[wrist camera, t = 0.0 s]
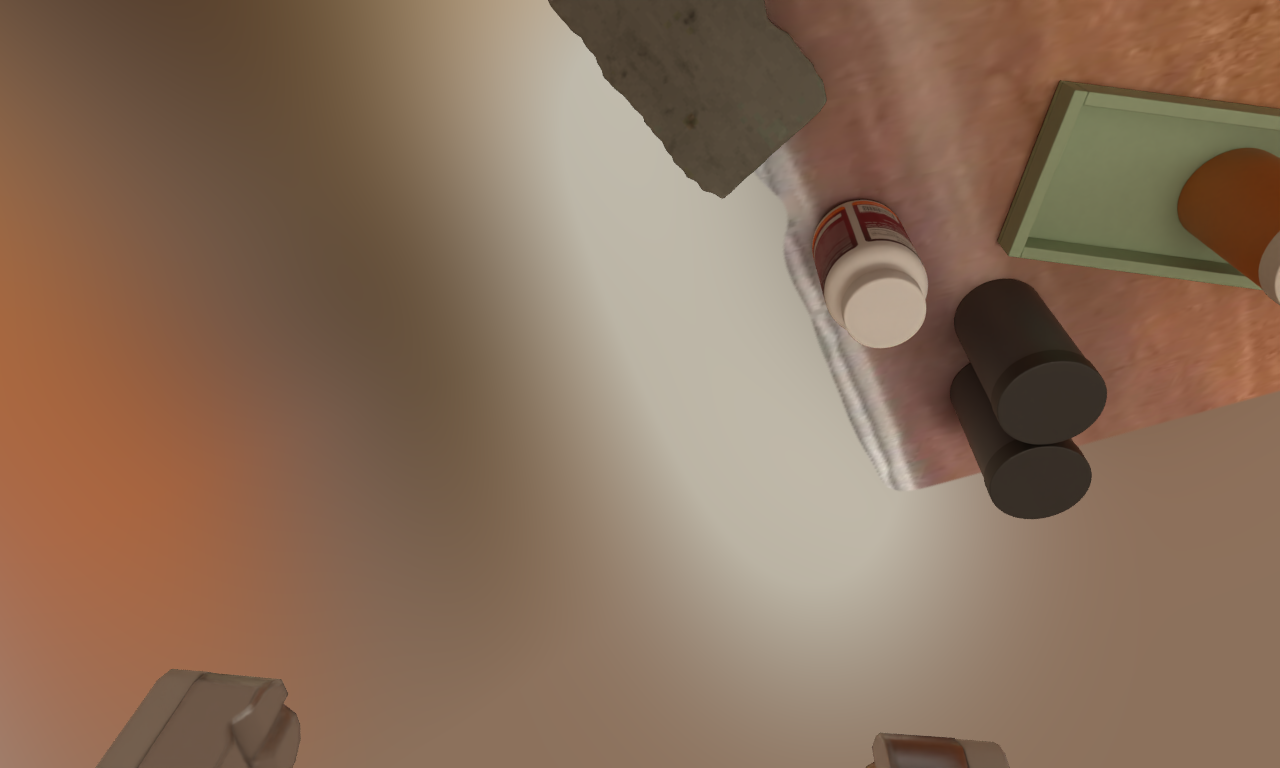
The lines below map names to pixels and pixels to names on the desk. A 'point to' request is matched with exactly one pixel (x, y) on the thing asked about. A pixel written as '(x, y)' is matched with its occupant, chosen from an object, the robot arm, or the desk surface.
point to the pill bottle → (870, 273)
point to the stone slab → (703, 78)
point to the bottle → (1238, 213)
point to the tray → (1127, 180)
